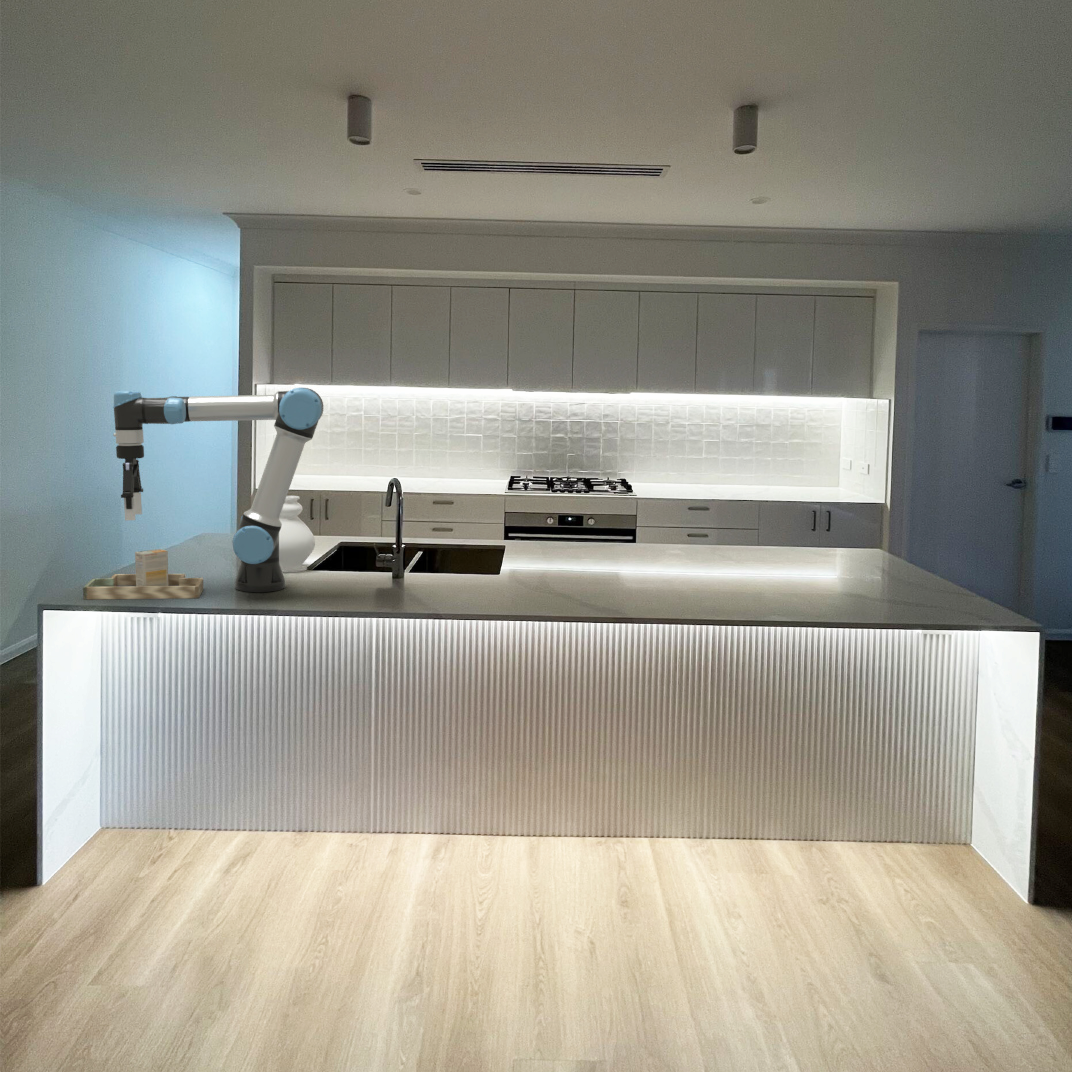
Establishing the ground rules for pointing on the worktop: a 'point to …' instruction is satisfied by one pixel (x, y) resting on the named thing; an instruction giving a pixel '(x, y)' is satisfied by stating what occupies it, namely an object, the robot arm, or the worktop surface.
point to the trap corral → (142, 588)
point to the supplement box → (151, 568)
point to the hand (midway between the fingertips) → (133, 517)
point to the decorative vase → (294, 537)
